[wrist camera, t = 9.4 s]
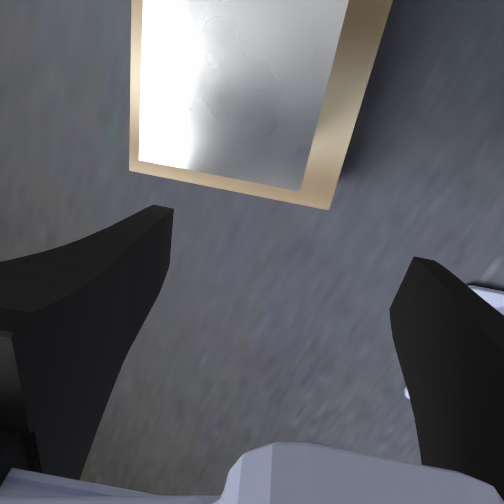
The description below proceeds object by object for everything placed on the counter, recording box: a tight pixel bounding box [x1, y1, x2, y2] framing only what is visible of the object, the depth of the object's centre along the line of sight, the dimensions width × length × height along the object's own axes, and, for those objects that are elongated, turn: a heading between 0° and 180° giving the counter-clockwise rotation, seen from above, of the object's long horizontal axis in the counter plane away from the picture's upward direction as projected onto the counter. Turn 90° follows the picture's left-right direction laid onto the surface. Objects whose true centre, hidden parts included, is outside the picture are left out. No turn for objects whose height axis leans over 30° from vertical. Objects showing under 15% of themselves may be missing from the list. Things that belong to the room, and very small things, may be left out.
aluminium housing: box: [139, 0, 349, 192], centre depth 12 cm, size 9×5×5 cm, turn 170°
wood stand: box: [129, 0, 393, 210], centre depth 16 cm, size 14×9×3 cm, turn 170°
